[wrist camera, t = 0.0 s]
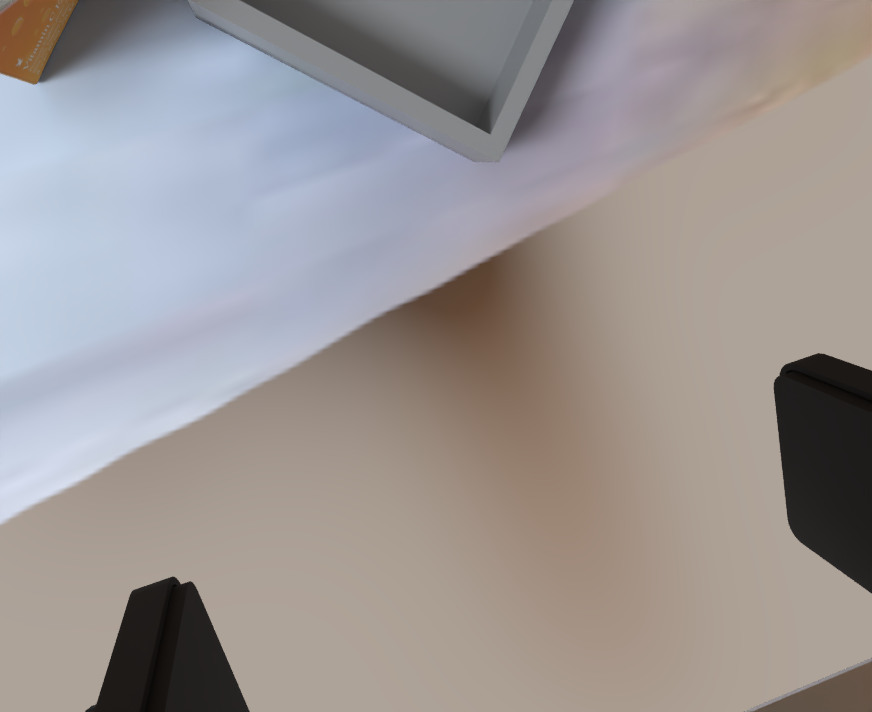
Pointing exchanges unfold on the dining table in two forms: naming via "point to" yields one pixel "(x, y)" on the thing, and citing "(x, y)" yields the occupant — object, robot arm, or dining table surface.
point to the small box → (30, 35)
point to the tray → (411, 57)
